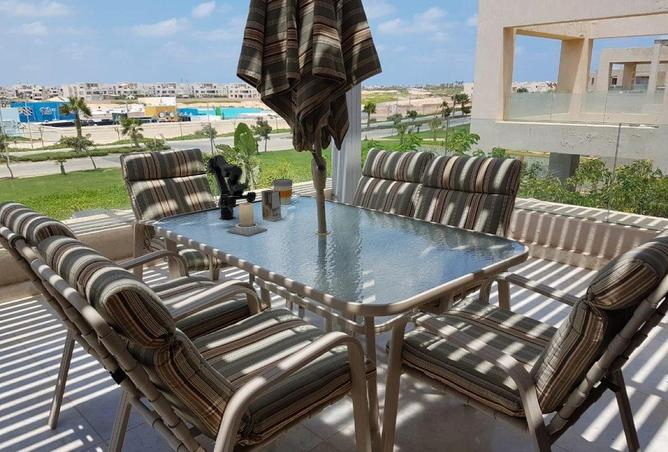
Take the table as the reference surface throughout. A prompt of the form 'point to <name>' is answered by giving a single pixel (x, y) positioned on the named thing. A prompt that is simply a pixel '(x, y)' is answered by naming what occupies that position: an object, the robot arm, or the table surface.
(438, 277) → the table surface
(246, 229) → the ring holder
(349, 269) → the table surface
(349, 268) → the table surface
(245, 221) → the kraft roll
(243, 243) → the table surface
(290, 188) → the reusable coffee cup
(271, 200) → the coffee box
